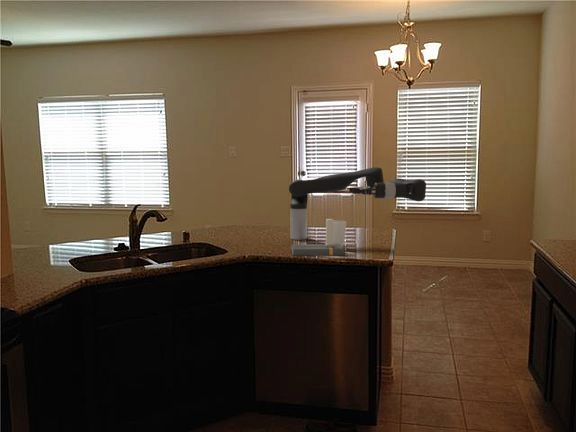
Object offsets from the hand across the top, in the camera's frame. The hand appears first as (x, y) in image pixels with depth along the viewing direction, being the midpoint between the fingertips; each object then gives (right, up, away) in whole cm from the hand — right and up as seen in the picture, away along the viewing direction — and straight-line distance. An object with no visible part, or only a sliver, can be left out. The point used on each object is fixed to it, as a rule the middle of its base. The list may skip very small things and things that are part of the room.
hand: (350, 190), depth 226 cm
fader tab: (-10, -27, +3) cm, 29 cm away
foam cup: (-5, -28, +18) cm, 34 cm away
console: (-16, -30, +3) cm, 34 cm away
